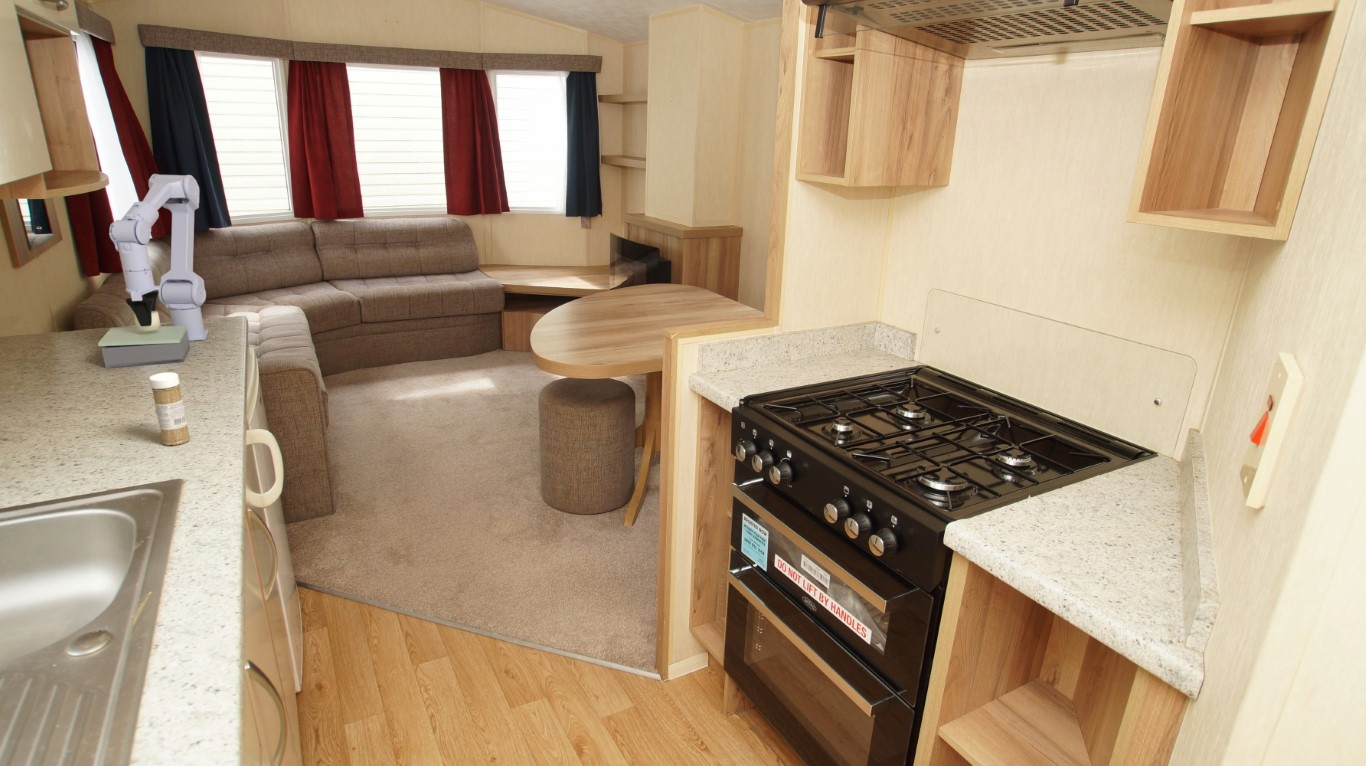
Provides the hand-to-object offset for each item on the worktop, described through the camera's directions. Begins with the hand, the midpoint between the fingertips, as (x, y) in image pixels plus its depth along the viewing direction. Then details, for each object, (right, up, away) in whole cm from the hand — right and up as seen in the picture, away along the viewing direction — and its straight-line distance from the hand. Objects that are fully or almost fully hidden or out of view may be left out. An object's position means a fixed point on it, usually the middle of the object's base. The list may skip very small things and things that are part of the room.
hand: (148, 323), depth 189 cm
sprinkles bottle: (+38, -27, -45) cm, 65 cm away
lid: (-1, -3, +1) cm, 4 cm away
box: (-1, -8, +2) cm, 9 cm away
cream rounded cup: (0, -1, 0) cm, 1 cm away
